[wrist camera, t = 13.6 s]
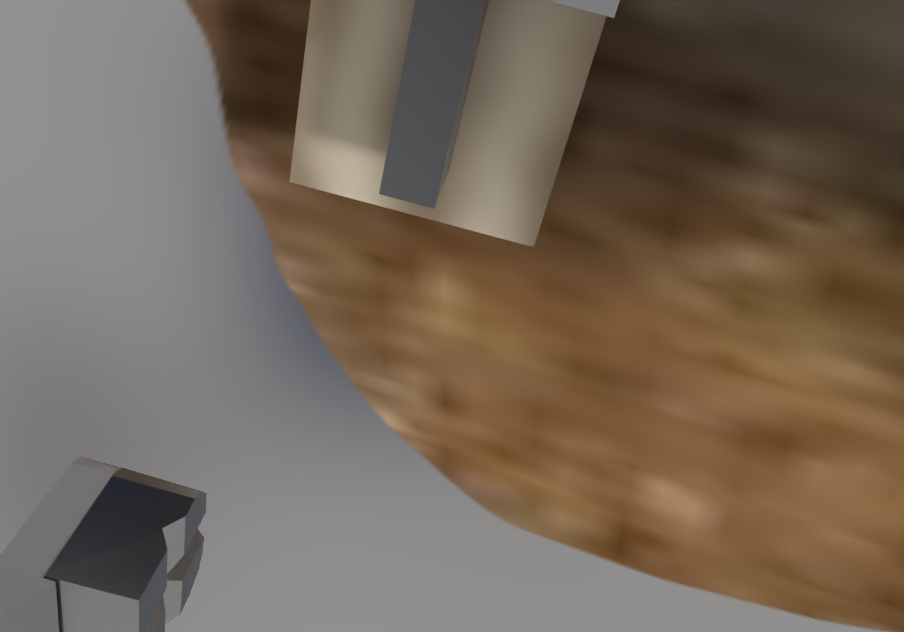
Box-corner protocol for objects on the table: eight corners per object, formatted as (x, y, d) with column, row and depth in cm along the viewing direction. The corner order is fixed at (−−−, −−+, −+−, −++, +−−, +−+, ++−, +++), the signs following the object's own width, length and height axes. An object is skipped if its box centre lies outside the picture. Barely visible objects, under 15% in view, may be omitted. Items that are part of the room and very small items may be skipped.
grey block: (623, -33, 33) (625, -9, 30) (550, 197, 39) (545, 238, 36) (325, -113, 33) (294, -97, 30) (296, 129, 39) (268, 164, 36)
